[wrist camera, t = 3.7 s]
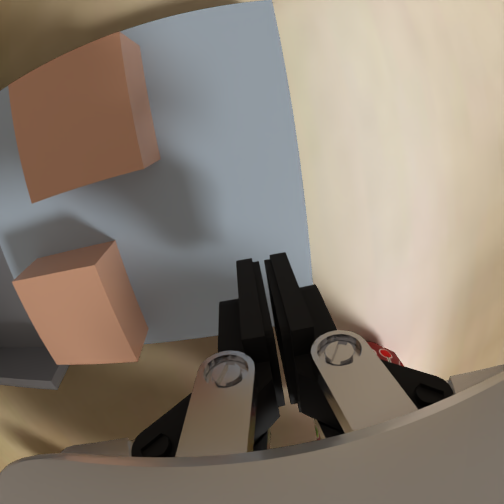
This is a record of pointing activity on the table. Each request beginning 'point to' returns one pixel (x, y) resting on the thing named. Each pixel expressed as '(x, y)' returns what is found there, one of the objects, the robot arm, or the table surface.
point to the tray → (22, 342)
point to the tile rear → (84, 306)
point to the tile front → (83, 117)
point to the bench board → (185, 175)
